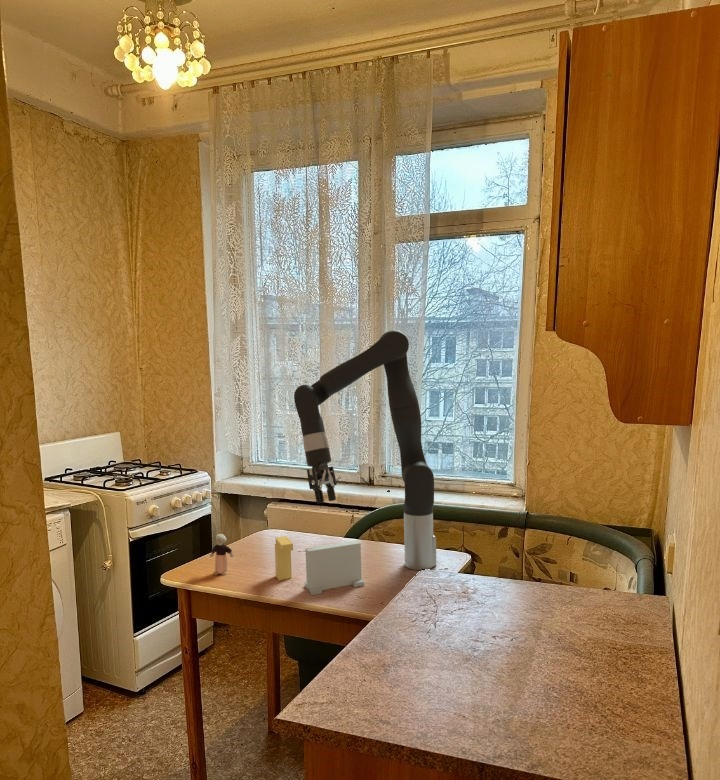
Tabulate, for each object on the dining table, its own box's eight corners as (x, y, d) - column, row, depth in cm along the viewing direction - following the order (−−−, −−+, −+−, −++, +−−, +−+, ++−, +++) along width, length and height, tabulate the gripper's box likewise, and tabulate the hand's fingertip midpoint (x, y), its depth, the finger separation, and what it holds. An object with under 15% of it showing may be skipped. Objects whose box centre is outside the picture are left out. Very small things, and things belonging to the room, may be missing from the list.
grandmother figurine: (208, 576, 174) (206, 536, 173) (211, 571, 177) (209, 532, 177) (233, 575, 174) (231, 535, 173) (235, 570, 178) (234, 531, 177)
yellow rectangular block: (288, 573, 174) (287, 535, 174) (295, 583, 167) (293, 543, 166) (275, 575, 173) (274, 537, 172) (281, 585, 165) (280, 545, 165)
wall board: (355, 577, 170) (354, 538, 169) (364, 585, 164) (363, 545, 163) (304, 586, 164) (303, 546, 164) (311, 595, 158) (310, 553, 157)
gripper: (317, 446, 164) (327, 501, 161) (337, 446, 177) (347, 497, 174) (295, 451, 166) (305, 506, 163) (316, 451, 179) (325, 502, 177)
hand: (326, 501), depth 169 cm, fingers open, 8 cm apart
